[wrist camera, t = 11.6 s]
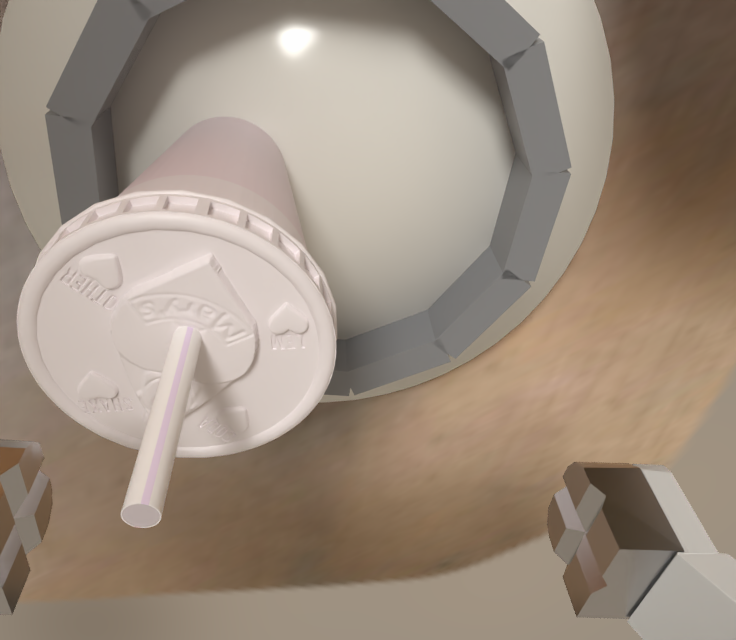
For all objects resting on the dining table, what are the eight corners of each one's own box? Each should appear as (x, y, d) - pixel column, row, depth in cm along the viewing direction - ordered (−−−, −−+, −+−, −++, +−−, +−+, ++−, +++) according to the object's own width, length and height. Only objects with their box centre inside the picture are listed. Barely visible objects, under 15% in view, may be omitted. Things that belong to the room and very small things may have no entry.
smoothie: (355, 116, 20) (423, 437, 8) (292, 278, 23) (278, 669, 12) (149, 36, 18) (-125, 307, 7) (112, 225, 21) (-113, 626, 10)
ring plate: (-65, -274, 15) (-142, -307, 12) (705, -130, 17) (768, -133, 15) (56, 371, 26) (29, 422, 24) (513, 400, 29) (531, 448, 26)
